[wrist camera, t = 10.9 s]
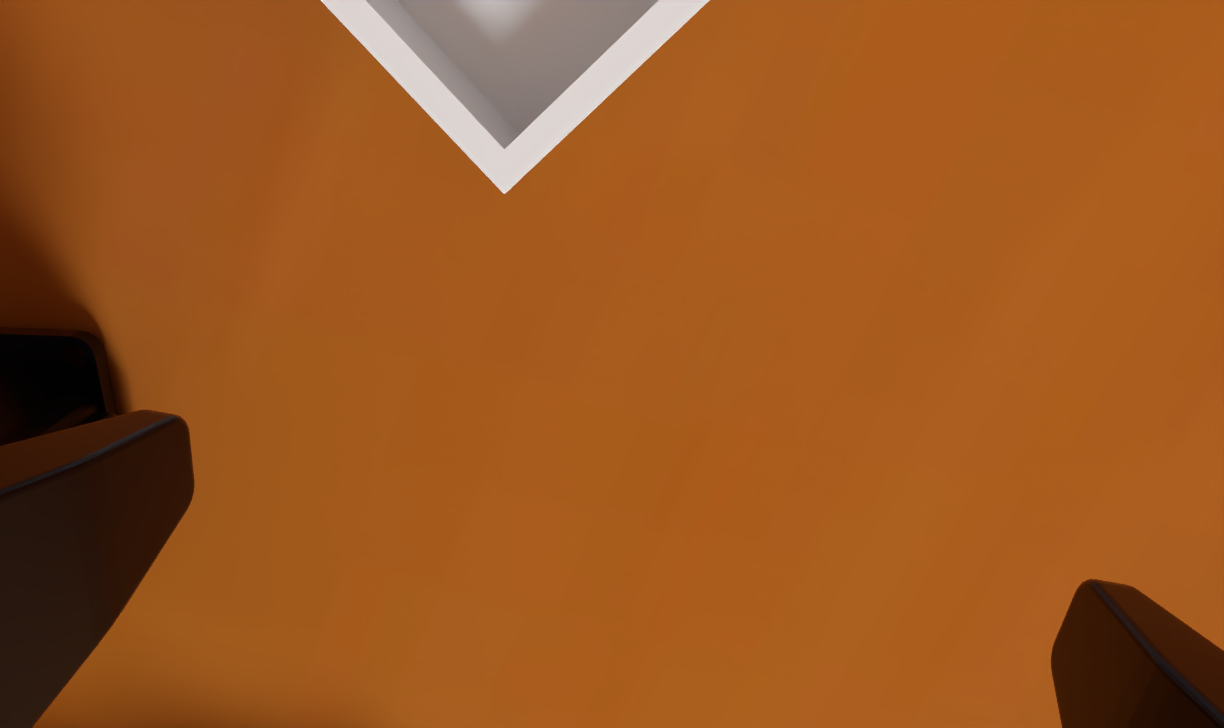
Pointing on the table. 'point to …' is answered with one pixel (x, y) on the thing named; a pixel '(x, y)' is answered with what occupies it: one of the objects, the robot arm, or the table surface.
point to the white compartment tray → (511, 64)
